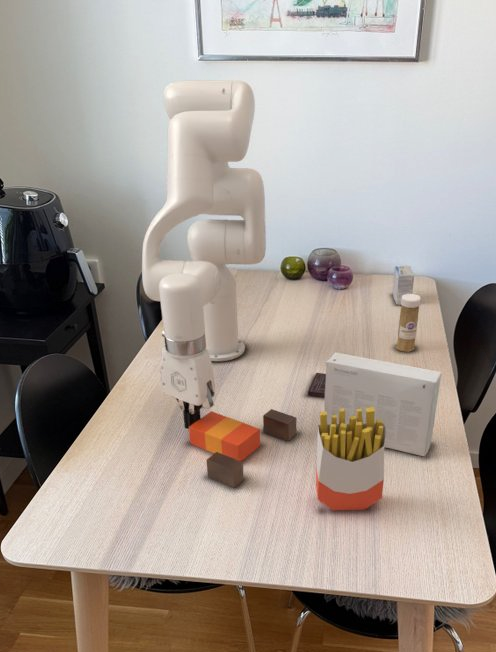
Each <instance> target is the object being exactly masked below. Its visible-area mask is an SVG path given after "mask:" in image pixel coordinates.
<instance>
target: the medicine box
mask: <svg viewBox="0 0 496 652" xmlns="http://www.w3.org/2000/svg"><path fill="white" fill-rule="evenodd" d="M414 281H415V274H414V273H413V270H412V268H411V266H410V265H396V266H395V267H394V272H393V281H392V283H393V284H392V297H393V299H394V303H395V305H397V306H401V297H402V296H403V295H405V294H414V293H413V292H414V290H413V289H414Z"/></svg>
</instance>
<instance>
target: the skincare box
mask: <svg viewBox="0 0 496 652" xmlns="http://www.w3.org/2000/svg"><path fill="white" fill-rule="evenodd" d="M325 374H326V384H325V398H324V397H323V399H324V400H323V401H324V402H323V406H324V408H323V410H324V411H323V412H325V411H326V412H327V425H331V423H332V415H337V424H339V411H340V409H345V424H349V420H350V417H351V416H356V418H357V409H361V410H362V419H363V424H366V408H369V407H374V410H375V419H374V424H376V419H382V423H384V425H385V428H386V437H385V447H384V448H385V449H386V448H387V449H391V450H395V451H399V452H404V453H407V454H412V455H416V456H421V457H425V456H426V455H427V453H428V452H429V451H430V448H431V446H432V440H433V433H434V426H435V420H436V413H437V407H438V406H437V405H438V399H439V393H440V387H441V378H442V371H438V370H432V369H426V368H420V367H416V366H411V365H406V364H400V363H395V362H391V361H390V362H389V361H384V360H379V359H372V358H368V357H363V356H357V355H351V354H348V353H347V354H346V353H341V352H337V351H336V352H334V353H333V354H332V355H331V356H330V357H329V358H328V359H327V360H326V361H325ZM356 422H357V419H356Z"/></svg>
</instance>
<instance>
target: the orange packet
mask: <svg viewBox="0 0 496 652" xmlns="http://www.w3.org/2000/svg"><path fill="white" fill-rule="evenodd" d="M188 435H189V441H190V442H189V443H190V445H193V446H196V447H197V448H200V449H203V450H204V451H207V452H210V453H212V454H214V453H216V452H218V453H221V454H223V455H226V456H228V457H231V458H234V459H236V460H239V461H241V462H243V461H244V460H245V459H246V458H247V457H249V456H250V455H252V454H253V453H254V452H255V451H256V450H258V449H259V448H260V447H261V428H258V427H257V426H253V425H250V424H247V423H245V422H243V421H240V420H237V419H235V418H232V417H229V416H225V415H223V414H220V413H217V412H215V411H212V410H210V411H209V412H207V413H206V414H205V415H203V416H202V417H201V419H199V420H198V421H196V422H195V423H194V424H192V425H191V426H189V429H188Z"/></svg>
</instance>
